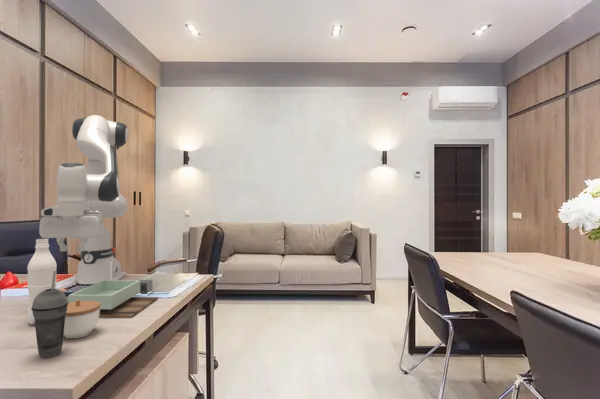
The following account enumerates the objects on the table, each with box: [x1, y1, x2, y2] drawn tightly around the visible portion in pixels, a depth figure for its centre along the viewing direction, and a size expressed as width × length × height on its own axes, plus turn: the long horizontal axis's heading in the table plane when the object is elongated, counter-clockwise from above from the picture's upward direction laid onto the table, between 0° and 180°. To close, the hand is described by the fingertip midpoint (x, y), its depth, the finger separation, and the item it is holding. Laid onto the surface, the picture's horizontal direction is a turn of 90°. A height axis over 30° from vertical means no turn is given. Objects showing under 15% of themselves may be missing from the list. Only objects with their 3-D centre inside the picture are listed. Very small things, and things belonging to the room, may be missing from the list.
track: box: [99, 296, 159, 319], centre depth 120 cm, size 20×20×1 cm
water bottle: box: [26, 238, 58, 326], centre depth 106 cm, size 7×7×25 cm
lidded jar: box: [63, 300, 100, 340], centre depth 97 cm, size 11×11×9 cm
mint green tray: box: [67, 279, 140, 311], centre depth 120 cm, size 20×14×6 cm
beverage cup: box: [31, 270, 68, 358], centre depth 85 cm, size 7×7×20 cm
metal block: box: [137, 279, 154, 294], centre depth 137 cm, size 5×5×5 cm
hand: (72, 251), depth 120 cm, fingers open, 4 cm apart
